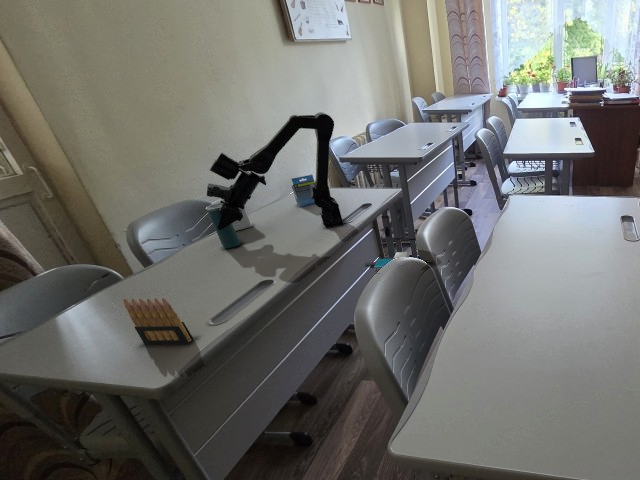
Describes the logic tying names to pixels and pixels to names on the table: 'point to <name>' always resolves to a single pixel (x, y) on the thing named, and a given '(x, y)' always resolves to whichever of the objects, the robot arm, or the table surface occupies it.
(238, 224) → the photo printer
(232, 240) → the tin
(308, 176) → the label tape box
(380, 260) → the phone stand
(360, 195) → the table surface
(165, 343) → the ammunition clip
